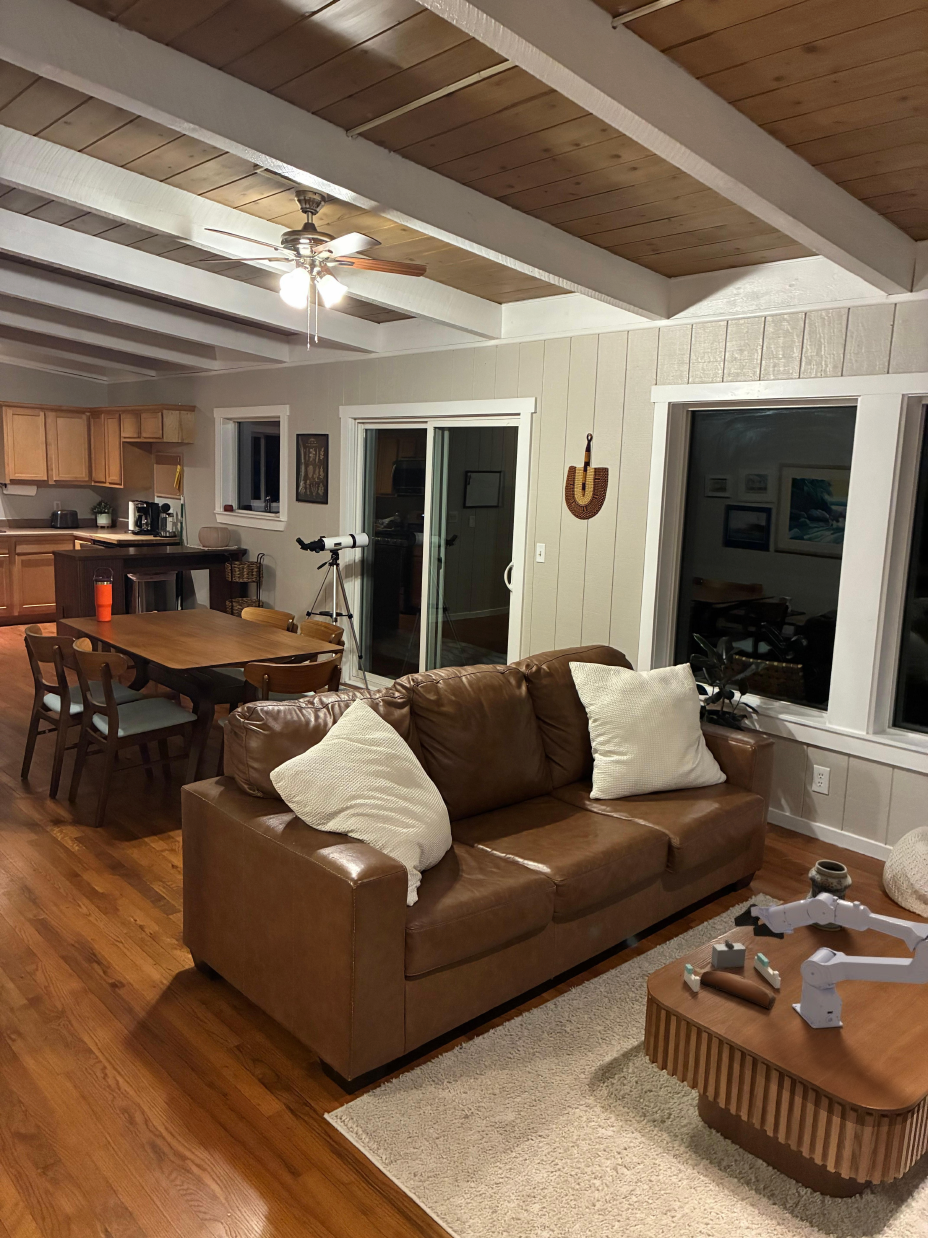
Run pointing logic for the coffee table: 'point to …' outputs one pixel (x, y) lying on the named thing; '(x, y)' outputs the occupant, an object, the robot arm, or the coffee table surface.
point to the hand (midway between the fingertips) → (744, 927)
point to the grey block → (728, 955)
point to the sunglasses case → (739, 987)
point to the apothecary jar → (829, 885)
